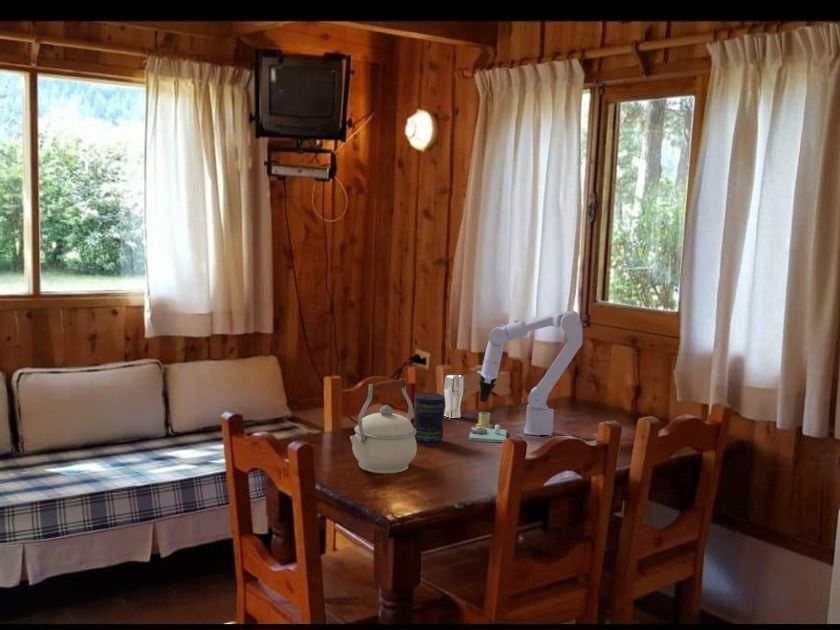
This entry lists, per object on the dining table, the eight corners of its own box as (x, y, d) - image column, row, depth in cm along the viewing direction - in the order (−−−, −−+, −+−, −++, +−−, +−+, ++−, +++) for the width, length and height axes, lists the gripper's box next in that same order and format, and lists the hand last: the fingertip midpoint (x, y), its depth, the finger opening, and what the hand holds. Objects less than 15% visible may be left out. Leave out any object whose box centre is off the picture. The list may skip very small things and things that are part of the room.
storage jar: (422, 435, 272) (424, 391, 270) (448, 441, 267) (450, 396, 266) (406, 442, 264) (408, 396, 262) (432, 447, 259) (435, 400, 257)
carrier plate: (506, 432, 282) (507, 421, 282) (505, 443, 268) (506, 431, 268) (471, 429, 284) (472, 418, 283) (468, 440, 270) (469, 428, 269)
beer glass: (462, 415, 304) (464, 375, 303) (461, 419, 298) (463, 378, 296) (443, 413, 305) (445, 374, 303) (441, 418, 298) (444, 377, 297)
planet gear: (491, 426, 291) (492, 412, 290) (491, 429, 285) (491, 415, 285) (476, 424, 291) (477, 410, 291) (475, 428, 286) (476, 414, 285)
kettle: (385, 452, 250) (389, 371, 248) (432, 466, 239) (437, 381, 236) (325, 468, 231) (329, 381, 228) (374, 484, 220) (378, 392, 217)
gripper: (481, 355, 293) (473, 391, 294) (479, 362, 278) (471, 400, 280) (501, 359, 292) (493, 396, 294) (500, 367, 278) (491, 405, 280)
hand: (483, 398), depth 287 cm, fingers open, 7 cm apart
